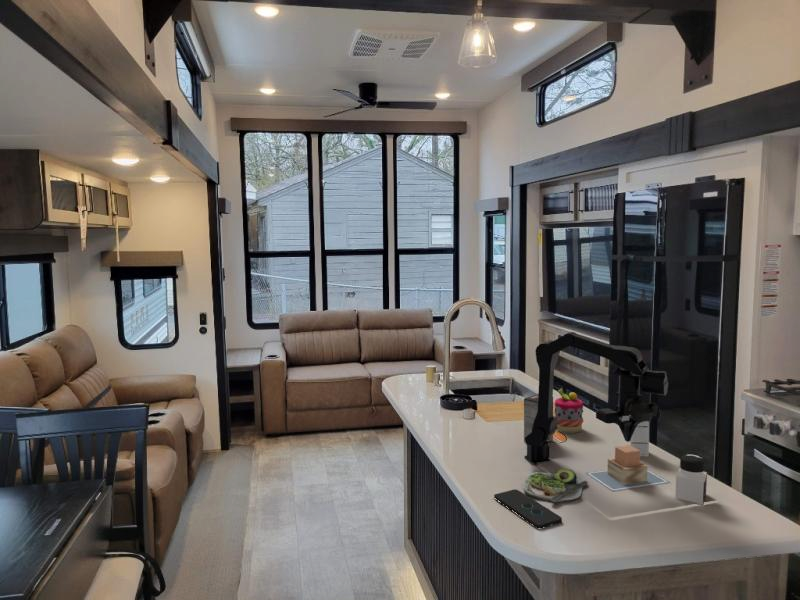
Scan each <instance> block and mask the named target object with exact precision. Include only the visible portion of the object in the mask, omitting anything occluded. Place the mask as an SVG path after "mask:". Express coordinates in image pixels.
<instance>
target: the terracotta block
mask: <svg viewBox="0 0 800 600" xmlns="http://www.w3.org/2000/svg"><path fill="white" fill-rule="evenodd" d="M614 449H615V450H614V458H615V462H616V463H618V464H619V465H621V466H623V467H624V468H627V467H634V466H640V462H641V456H640V450H638V449H636V448H634V447H632V446H630V445H628V444H627V445H621V446H615V448H614Z"/></svg>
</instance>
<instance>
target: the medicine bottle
mask: <svg viewBox="0 0 800 600" xmlns="http://www.w3.org/2000/svg"><path fill="white" fill-rule="evenodd" d="M679 459H680V461H679V469H678V471H677V473H676V476H675V490H674V491H675V493H674V494H675V495H674V498H675V500H676V499H678V500H682V501H686V502H690V503H691V502H692V503H693V504H694V505H698V506H699V505H700V506H704V504H705V499H706V496H707V483H708V482H707V481H708V480H707V479H708V472H707V471H705V459H703V457H700V456H699V455H695V454H684V455H681V456H680V458H679Z"/></svg>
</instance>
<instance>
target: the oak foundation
mask: <svg viewBox="0 0 800 600" xmlns="http://www.w3.org/2000/svg"><path fill="white" fill-rule="evenodd" d="M647 469H648V465H647V464H646V463H643V462H642V461H640V466H634V467H627V468H624V467H623V466H621V465H619V464H618V463H616V462H615V457H614V458H608V459H607V470H608V473H607V474H608V475H610V476H611V477H613V478H614V479H616V480H617V481H619V482H620V483H622V484H624V485H625V484H632V483H639V482H645V481H647ZM648 470H649V469H648Z"/></svg>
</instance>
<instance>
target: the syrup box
mask: <svg viewBox="0 0 800 600" xmlns="http://www.w3.org/2000/svg"><path fill="white" fill-rule="evenodd" d="M627 443H628V444H627V445H630V446H632V447H634V448H636V449H638V450H640V457H647V458H648V457H649V449H650V447H649V446H650V421H649V422H648V421H644V422H641V423H640V424H638V425H637V427H636V428H635V430H634V433H633V435H632V437H631V440H630V441H629V442H627Z"/></svg>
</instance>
